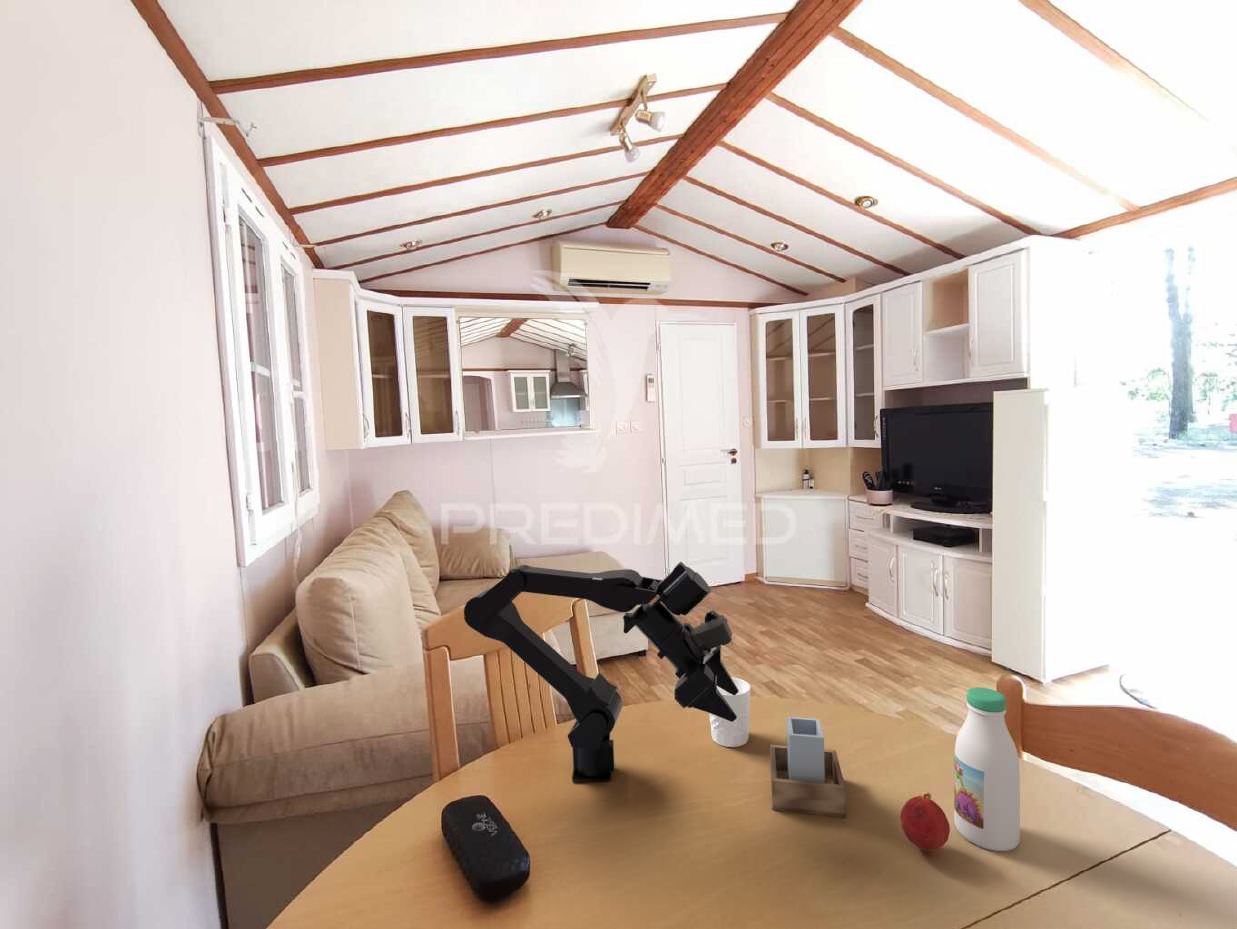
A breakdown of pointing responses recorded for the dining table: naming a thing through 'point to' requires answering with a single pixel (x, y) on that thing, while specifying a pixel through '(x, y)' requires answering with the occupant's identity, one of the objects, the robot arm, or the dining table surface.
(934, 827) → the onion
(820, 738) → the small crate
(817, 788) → the big crate
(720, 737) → the white cup
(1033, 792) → the dining table surface
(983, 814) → the milk bottle
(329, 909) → the dining table surface
